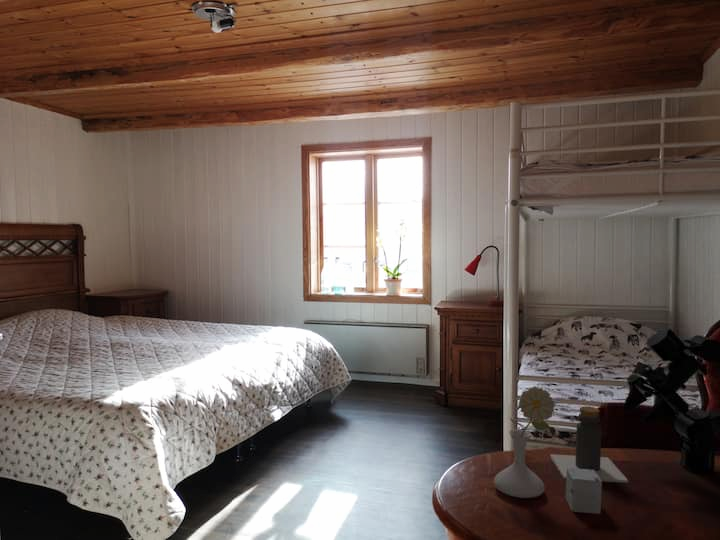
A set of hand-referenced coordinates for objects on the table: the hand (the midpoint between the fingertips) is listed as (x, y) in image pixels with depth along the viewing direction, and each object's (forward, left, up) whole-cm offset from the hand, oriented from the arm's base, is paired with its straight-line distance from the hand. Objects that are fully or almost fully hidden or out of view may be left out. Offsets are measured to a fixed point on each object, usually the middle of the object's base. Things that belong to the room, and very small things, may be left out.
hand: (632, 416), depth 136 cm
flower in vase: (+31, +18, -14) cm, 38 cm away
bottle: (+11, +2, -13) cm, 18 cm away
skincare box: (+19, +23, -14) cm, 33 cm away
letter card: (+12, +2, -14) cm, 18 cm away
